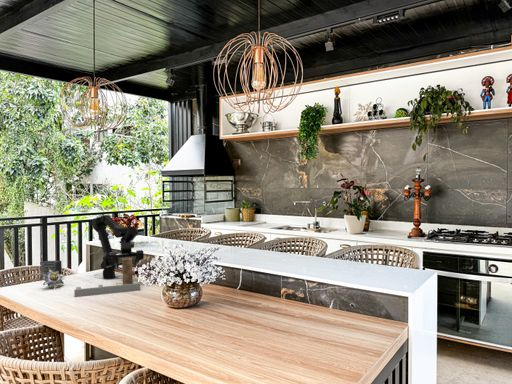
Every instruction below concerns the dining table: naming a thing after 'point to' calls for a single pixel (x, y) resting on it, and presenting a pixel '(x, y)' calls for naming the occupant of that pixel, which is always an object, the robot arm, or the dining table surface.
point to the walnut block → (127, 271)
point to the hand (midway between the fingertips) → (126, 268)
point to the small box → (51, 267)
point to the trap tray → (106, 289)
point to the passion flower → (52, 279)
